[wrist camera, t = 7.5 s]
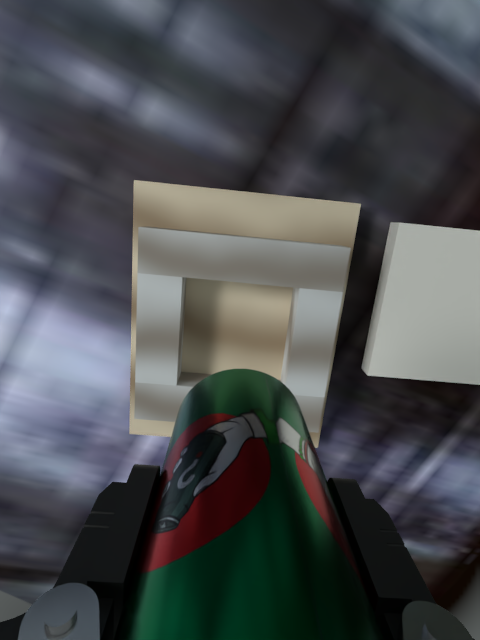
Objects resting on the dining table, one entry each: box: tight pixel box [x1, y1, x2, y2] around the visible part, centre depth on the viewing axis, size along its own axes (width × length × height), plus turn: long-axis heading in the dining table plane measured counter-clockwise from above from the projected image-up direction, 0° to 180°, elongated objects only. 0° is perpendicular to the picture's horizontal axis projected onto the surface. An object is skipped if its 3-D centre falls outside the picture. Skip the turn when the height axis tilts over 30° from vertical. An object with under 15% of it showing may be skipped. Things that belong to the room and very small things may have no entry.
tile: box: [361, 222, 480, 385], centre depth 29 cm, size 12×12×2 cm
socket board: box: [130, 180, 361, 448], centre depth 27 cm, size 20×16×4 cm
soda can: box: [114, 369, 384, 640], centre depth 9 cm, size 5×5×12 cm
